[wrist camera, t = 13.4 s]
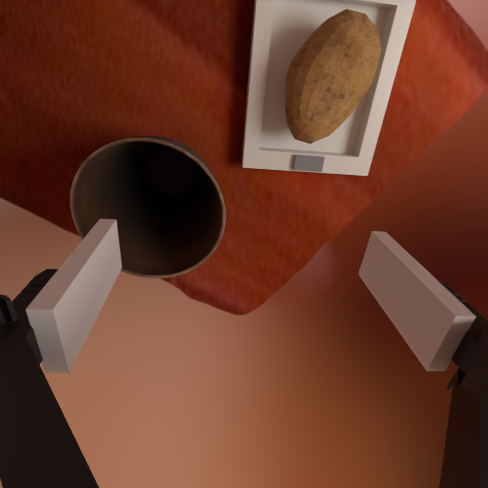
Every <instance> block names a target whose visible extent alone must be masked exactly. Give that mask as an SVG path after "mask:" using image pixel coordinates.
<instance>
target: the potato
mask: <svg viewBox="0 0 488 488" xmlns="http://www.w3.org/2000/svg"><path fill="white" fill-rule="evenodd" d="M380 53H381V44H380V39H379V34H378V30H377V29H376V27H375V26H374V24H373V23H372V22H371V20H370V19H369V17H368V16H367V15H366V14H364V13H360V12H357V11H353V10H349V9H345V10H343V11H341V12H339V13H338V14H336V15H334V16H332V17H330V18H328V19H327V20H326V21H324V22H323V23H322V24H321V25H320V26H319V27H318V28H317V29H316V30H315V31H314V32H313V33H312V34H311V35H310V36H309V38H308V39H307V40H306V42H305V43H304V44H303V46H302V47H301V48H300V50H299V51H298V52H297V54H296V55H295V57H294V58H293V59H292V61H291V63H290V66H289V69H288V72H287V74H286V79H285V113H286V120H287V126H288V128H289V130H290V132H291V134H292V136H293V137H294V139H295V140H299V141H302V142H305V143H308V144H311V143H314V142H316V141H318V140H320V139H322V138H325V137H327V136H329V135H331V134H332V133H333V132H334V131H335V130H336V129H337V128H338V127H339V126H340V125H341V124H342V123H343V122H344V121H345V120H346V119H347V118H348V117H349V116H350V114H351V113H352V112H353V111H354V110H355V108H356V107H357V106H358V105H359V103H360V102H361V101H362V100H363V98H364V96H365V95H366V93H367V91H368V90H369V88H370V86H371V84H372V81H373V78H374V75H375V72H376V69H377V65H378V61H379V57H380Z"/></svg>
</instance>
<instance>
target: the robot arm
mask: <svg viewBox="0 0 488 488" xmlns="http://www.w3.org/2000/svg"><path fill="white" fill-rule="evenodd" d="M121 268H122V263H121V255H120V246H119V238H118V230H117V221H116V220H113V219H99V221H98V222H97V223H96V224H95V225H94V227H93V228H92V229H91V230H90V232H89V233H88V234H87V235H86V236H85V238H84V239H83V240H82V241H81V243H80V244H79V245H78V246H77V247H76V249H75V250H74V251H73V252H72V254H71V255H70V256H69V257H68V258H67V260H66V261H65V262H64V263H63V264H62V266H61V267H60V268H59V269H46V270H45V271H43V272H41V273H40V274H38V275H36V276H35V277H34V278H33V279H32V280H31V281H30V282H29V284H28V286H26V287H25V288H24V289H23V290H22V291H21V293H19V295H18V296H17V297H16V298H15V299H14V300H13V301H12V302H11V300H10V298H9V297H7V296H5V295H0V479H1V483H2V486H3V488H99V487H98V485H97V483H96V481H95V478H94V476H93V474H92V472H91V470H90V468H89V466H88V464H87V462H86V460H85V458H84V456H83V454H82V452H81V450H80V448H79V446H78V443H77V441H76V439H75V437H74V435H73V433H72V431H71V429H70V427H69V425H68V423H67V421H66V419H65V417H64V415H63V412H62V411H61V408H60V406H59V404H58V402H57V400H56V398H55V396H54V394H53V392H52V390H51V388H50V386H49V384H48V382H47V380H46V378H45V375H44V373H43V371H42V369H41V367H40V363H41V361H42V363H43V366H44V369H45V372H46V373H56V372H57V373H61V372H62V373H66V372H67V373H69V372H70V370H71V368H72V366H73V364H74V362H75V360H76V358H77V356H78V354H79V352H80V350H81V348H82V346H83V344H84V342H85V340H86V338H87V336H88V334H89V332H90V330H91V328H92V326H93V324H94V322H95V320H96V318H97V316H98V314H99V312H100V310H101V308H102V306H103V304H104V302H105V300H106V298H107V296H108V294H109V292H110V290H111V288H112V286H113V284H114V282H115V280H116V278H117V276H118V274H119V272H120V270H121ZM359 276H360V277H361V279H362V280H363V281H364V283H365V284H366V286H367V287H368V288H369V290H370V291H371V293H372V294H373V296H374V297H375V298H376V300H377V301H378V303H379V304H380V305H381V307H382V308H383V310H384V311H385V312H386V314H387V315H388V317H389V318H390V320H391V321H392V322H393V324H394V325H395V327H396V328H397V330H398V331H399V332H400V334H401V335H402V336H403V338H404V339H405V341H406V342H407V344H408V345H409V346H410V348H411V349H412V350H413V352H414V354H415V355H416V356H417V358H418V359H419V360H420V362H421V363H422V365H423V366H424V368H425V369H426V371H445V370H446V369H447V367H448V365H449V363H450V362H451V360H453V361H454V363H455V364H456V365H457V366H458V369H457V371H456V372H455V374H454V376H453V377H452V379H451V381H450V382H449V384H448V386H447V387H446V388H448V389H450V388H451V387H452V386H453V387H452V395H451V403H450V410H449V418H448V426H447V433H446V441H445V448H444V456H443V463H442V471H441V478H440V486H439V488H488V321H487V320H486V319H485V318H484V317H483V316H482V315H480V314H479V313H478V312H477V311H476V310H475V309H474V308H473V307H472V306H471V305H469V304H468V303H467V302H465V300H464V299H463V298H462V297H461V296H458V294H457V293H456V292H455V291H454V290H453V289H452V288H451V287H449V286H448V285H446V284H445V283H443V282H441V281H440V280H436V279H435V278H434V277H433V276H432V275H431V274H430V273H429V272H428V271H427V270H426V269H425V268H424V267H422V266H421V265H420V264H419V263H418V262H417V261H416V260H415V259H414V258H413V257H412V256H411V255H410V254H409V253H407V252H406V251H405V250H404V249H403V248H402V247H401V246H400V245H399V244H398V243H397V242H396V241H395V240H394V239H392V238H391V237H390V236H389V235H388V234H387V233H386V232H375V231H372V233H371V237H370V239H369V242H368V246H367V249H366V252H365V255H364V259H363V262H362V265H361V268H360V271H359Z"/></svg>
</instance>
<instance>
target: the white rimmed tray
mask: <svg viewBox="0 0 488 488" xmlns="http://www.w3.org/2000/svg"><path fill="white" fill-rule="evenodd" d="M415 3H416V0H254V13H253V25H252V38H251V50H250V62H249V75H248V87H247V100H246V112H245V124H244V137H243V149H242V162H241V163H242V167H243V168H257V169H272V170H287V171H302V172H317V173H333V174H348V175H363V176H368V172H369V168H370V165H371V161H372V158H373V154H374V150H375V147H376V143H377V140H378V136H379V132H380V129H381V125H382V122H383V118H384V114H385V111H386V107H387V104H388V100H389V96H390V93H391V89H392V86H393V82H394V78H395V75H396V71H397V68H398V64H399V60H400V57H401V53H402V50H403V46H404V42H405V39H406V35H407V32H408V28H409V24H410V21H411V17H412V14H413V10H414V6H415ZM345 9H349V10H353V11H357V12H360V13H364V14H366V15H367V16H368V17H369V19H370V20H371V22H372V23H373V24H374V26H375V27H376V29H377V30H378V34H379V39H380V44H381V53H380V57H379V61H378V65H377V69H376V72H375V75H374V78H373V81H372V84H371V86H370V88H369V90H368V91H367V93H366V95H365V96H364V98H363V100H362V101H361V102H360V103H359V105H358V106H357V107H356V108H355V110H354V111H353V112H352V113H351V114H350V116H349V117H348V118H347V119H346V120H345V121H344V122H343V123H342V124H341V125H340V126H339V127H338V128H337V129H336V130H335V131H334V132H333V133H332V134H331V135H329V136H327V137H325V138H322V139H320V140H318V141H316V142H314V143H311V144H308V143H305V142H302V141H299V140H295V139H294V137H293V136H292V134H291V132H290V130H289V128H288V126H287V120H286V113H285V79H286V74H287V72H288V69H289V66H290V63H291V61H292V59H293V58H294V57H295V55H296V54H297V52H298V51H299V50H300V48H301V47H302V46H303V44H304V43H305V42H306V40H307V39H308V38H309V36H310V35H311V34H312V33H313V32H314V31H315V30H316V29H317V28H318V27H319V26H320V25H321V24H322V23H323V22H324V21H326V20H327V19H328V18H330V17H332V16H334V15H336V14H338V13H339V12H341V11H343V10H345Z"/></svg>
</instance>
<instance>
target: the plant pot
mask: <svg viewBox="0 0 488 488" xmlns="http://www.w3.org/2000/svg"><path fill="white" fill-rule="evenodd" d="M157 157H159V159H158V161H157V159H156V158H157ZM187 166H190V167H191V169H190V170H187ZM166 187H170V190H167V189H166ZM70 208H71V214H72V218H73V221H74V224H75V226H76V229H77V231H78V233H79V234H80V236H81V238H82V239H84V238H85V236H86V235H87V234H88V233H89V232H90V230H91V229H92V228H93V227H94V225H95V224H96V223H97V222H98V221H99V219H113V220H116V221H117V230H118V238H119V246H120V255H121V263H122V268H121V271H123V272H125V273H128V274H132V275H136V276H140V277H146V278H168V277H173V276H177V275H181V274H184V273H186V272H189V271H191V270H193V269H194V268H196V267H198V266H199V265H201V264H202V263H203V262H204V261H206V260H207V259H208V258H209V257H210V256H211V254H212V253H213V252H214V251H215V249H216V248H217V246H218V244H219V242H220V240H221V238H222V235H223V232H224V227H225V219H226V213H225V205H224V200H223V196H222V194H221V191H220V188H219V186H218V184H217V182H216V180H215V177H214V176H213V174H212V172H211V170H210V169H209V167H208V166H207V164H206V163H205V162H204V160H203V159H202V158H201V157H200V156H199V155H198V154H197V153H196V152H195V151H193V150H192V149H191V148H189V147H188V146H186V145H185V144H183V143H180V142H178V141H176V140H173V139H169V138H164V137H156V136H144V137H135V138H128V139H122V140H118V141H115V142H112V143H109V144H107V145H105V146H103V147H101V148H99V149H98V150H96V151H95V152H93V153H92V154H91V155H90V156H89V157H88V158H87V159H86V160H85V161H84V162H83V163H82V165H81V166H80V168H79V169H78V171H77V173H76V175H75V177H74V180H73V183H72V186H71V192H70Z"/></svg>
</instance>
